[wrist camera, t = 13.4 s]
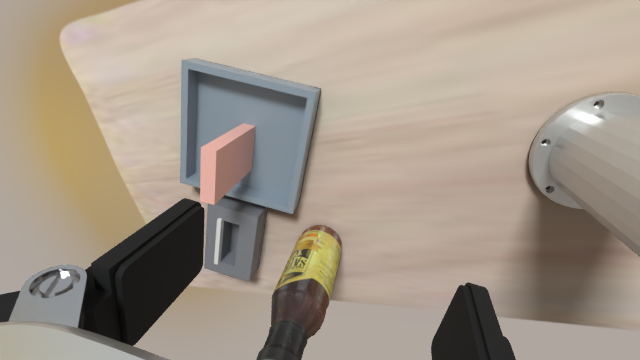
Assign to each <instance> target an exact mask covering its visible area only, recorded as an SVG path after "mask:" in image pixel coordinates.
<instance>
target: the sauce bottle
mask: <svg viewBox="0 0 640 360" xmlns="http://www.w3.org/2000/svg"><path fill="white" fill-rule="evenodd" d="M340 256H341V240H340V238H339V236H338V234H337V233H336V232H335V231H333V230H332V229H331V228H329V227H327V226H322V225H316V226H312V227H309V228H308V229H306V230H305V231H304V232H303V233H302V235H301V236H300V237H299V239H298V241H297V243H296V245H295V247H294V250H293V252H292V254H291V256H290V258H289V260H288V262H287V265H286V267H285V269H284V271H283V273H282V275H281V278H280V280H279V282H278V284H277V286H276V288H275V291H274V293H273V295H272V316H271V327H270V330H269V335H268V338H267V340H266V342H265V345H264V347H263V349H262V350H261V351H260V352H259V354H258V357H257V360H301V358H302V354H303V351H304V348H305V346H306V344H307V339H308V338H310V337H311V336H313V335H315V333H316V332H317V331H318V330H319V329H320V327H321V325H322V323H323V321H324V318H325V313H326V309H327V307H328V305H329V301H330V297H331V293H332V289H333V285H334V281H335V277H336V273H337V269H338V265H339V260H340Z"/></svg>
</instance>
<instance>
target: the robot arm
mask: <svg viewBox="0 0 640 360" xmlns="http://www.w3.org/2000/svg"><path fill="white" fill-rule="evenodd" d="M595 102H596V104H595V105H594V103H595ZM544 139H545V141H544V142H542V141H543V140H544ZM541 142H542V143H541ZM528 163H529V172H530V175H531V177H532V180H533V182H534V183H535V185H536V186H537V188H538V189H539V190H540V191H541V192H542V193H543V194H544V195H545V196H546V197H548V198H549V199H550V200H552V201H553V202H556V203H558V204H560V205H562V206H566V207H569V208H573V209H584V210H586V211H587V212H588V213H589V214H590V215H592V216H593V217H594V218H595V219H596V220H597V221H599V222H600V223H601V224H602V225H603V226H604V227H605V228H607V229H608V230H609V231H610V232H611V233H612V234H614V235H615V236H616V237H617V238H618V239H619V240H621V241H622V242H623V243H624V244H625V245H626V246H628V247H629V248H630V249H631V250H632V251H633V252H634V253H636V254H637V255H638V256H639V257H640V96H638V95H634V94H629V93H615V92H611V93H603V94H596V95H593V96H589V97H586V98H583V99H580V100H578V101H576V102H574V103H572V104H569V105H568V106H566V107H565V108H563V109H562V110H560V111H559V112H557V113H556V114H555V115H554V116H553V117H552V118H550V119H549V120H548V121H547V122H546V123H545V125H544V126H543V127H542V128H541V129H540V131H539V132H538V134H537V136H536V137H535V139H534V141H533V144H532V147H531V149H530V153H529V162H528ZM203 247H204V208H203V207H201V204H200V203H199V202H196V201H193V200H190V199H186V198H184V199H182V200H181V201H179V202H178V203H176V204H175V205H174V206H172V207H171V208H169V209H168V210H166V211H165V212H164V213H162V214H161V215H159V216H158V217H156V218H155V219H154V220H152V221H151V222H149V223H148V224H146V225H145V226H144V227H142V228H141V229H139V230H138V231H137V232H135V233H134V234H132V235H131V236H129V237H128V238H127V239H125V240H124V241H122V242H121V243H119V244H118V245H117V246H115V247H114V248H112V249H111V250H109V251H108V252H107V253H105V254H104V255H103V256H101V257H100V258H98V259H97V260H95V261H94V262H93V263H91V265H92V266H90V267H89V268H87V269H86V270H84V269H83V268H81V267H78V266H74V265H60V266H55V267H51V268H48V269H45V270H42V271H40V272H38V273H37V274H35V275H33V276H32V277H31V278H29V279H28V280H27V281H26V282H25V284H24V285H23V287H22V289H21V291H17V292H12V293H6V294H2V295H0V360H168V359H166V358H163V357H160V356H158V355H155V354H153V353H150V352H147V351H145V350H142V349H139V348H136V347H134V346H133V345H135V344H136V343H137V342H138V341H139V340H140V339H141V337H142V336H143V335H144V334H145V333H146V332H147V331H148V330H149V328H150V327H151V326H152V325H153V324H154V323H155V322H156V321H157V320H158V318H159V317H160V316H161V315H162V314H163V313H164V312H165V311H166V309H167V308H168V307H169V306H170V305H171V304H172V302H174V301H175V299H176V298H177V297H178V296H179V295H180V294H181V293H182V292H183V290H184V289H185V288H186V287H187V286H188V285H189V284H190V283H191V282H192V280H193V279H194V278H195V277H196V276H197V275H198V274H199V272H200V271H201V269H202V266H203ZM431 353H432V360H516V359H515V356H514V353H513V350H512V348H511V345H510V343H509V341H508V339H507V338H506V337H504V336H503V335H502V332H501V329H500V326H499V323H498V320H497V317H496V314H495V311H494V308H493V305H492V302H491V299H490V296H489V293H488V290H487V289H486V288H485V287H482V286H478V285H475V284H471V283H466V284H465V286H463V285H460V286H459V287H458V289H457V291H456V293H455V295H454V297H453V299H452V301H451V303H450V305H449V307H448V309H447V311H446V314H445V316H444V318H443V320H442V322H441V324H440V326H439V328H438V330H437V332H436V334H435V336H434V338H433V341H432V346H431Z"/></svg>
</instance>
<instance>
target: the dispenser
mask: <svg viewBox="0 0 640 360" xmlns="http://www.w3.org/2000/svg"><path fill="white" fill-rule="evenodd" d="M267 208H268V207H265V206H262V205H258V204H254V203H251V202H247V201H244V200H240V199H237V198H233V197H230V196H226V195H224V196H223V197H222V198H221V199H220V200H219V201H218V202H217V203H216V204H215V205H213V204H209V203H208V212H207V230H206V248H205V267H204V268H206V269H209V270H212V271H215V272H219V273H222V274H225V275H228V276H232V277H235V278H238V279H241V280H245V281H248V282H249V281H250V280H251V278H252V276H253V275H254V273H255V271H256V269H258V267H259V261H260V255H261V248H262V241H263V235H264V228H265V221H266V215H267Z"/></svg>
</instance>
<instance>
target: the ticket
mask: <svg viewBox="0 0 640 360" xmlns="http://www.w3.org/2000/svg"><path fill="white" fill-rule="evenodd" d="M254 137H255V126H253V125H249V124H245V123H243V124H241V125H239V126H237V127H236V128H234V129H232V130H230V131H229V132H227V133H225V134H223V135H222V136H220V137H218V138H216V139H215V140H213V141H211V142H209V143H208V144H206V145H204V146H202V147H201V169H200V201H201V202H205V203H209V204H213V205H215V204H216V203H217V202H218V201H219V200H220V199H221V198H222V197H223V196H224V195H226V194H227V193H228V192H229V191H230V190H231V189H232V188H233V187H234V186H235V185H236V184H237V183H238V182H239V181H240V180H241V179H242V178H244V177H245V176H246V175H247V174H248V173H249V172H250V171H251V170H252V160H253V148H254Z"/></svg>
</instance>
